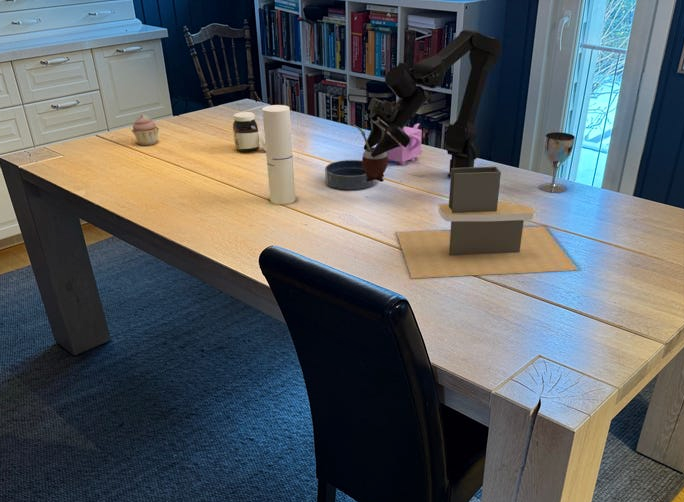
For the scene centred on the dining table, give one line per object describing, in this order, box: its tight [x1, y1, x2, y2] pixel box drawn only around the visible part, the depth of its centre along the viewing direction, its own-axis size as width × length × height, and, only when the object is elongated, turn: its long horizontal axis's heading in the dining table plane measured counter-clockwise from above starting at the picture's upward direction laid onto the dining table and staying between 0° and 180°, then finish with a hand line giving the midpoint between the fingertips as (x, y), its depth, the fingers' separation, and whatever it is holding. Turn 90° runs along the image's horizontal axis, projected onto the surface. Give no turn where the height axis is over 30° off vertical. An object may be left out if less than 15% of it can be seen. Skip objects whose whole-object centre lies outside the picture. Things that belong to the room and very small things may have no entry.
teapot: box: [386, 123, 423, 166], centre depth 217 cm, size 15×13×11 cm
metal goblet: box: [539, 131, 576, 193], centre depth 193 cm, size 8×8×15 cm
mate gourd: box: [352, 123, 389, 183], centre depth 184 cm, size 8×8×15 cm
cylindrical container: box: [261, 104, 297, 205], centre depth 184 cm, size 7×7×25 cm
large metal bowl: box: [324, 159, 377, 191], centre depth 202 cm, size 15×15×4 cm
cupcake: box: [131, 113, 160, 146], centre depth 234 cm, size 9×9×10 cm
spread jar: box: [232, 111, 266, 154], centre depth 227 cm, size 12×11×12 cm
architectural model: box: [396, 166, 579, 279], centre depth 157 cm, size 38×25×20 cm, turn 96°
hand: (368, 152), depth 183 cm, fingers closed on mate gourd, 6 cm apart
